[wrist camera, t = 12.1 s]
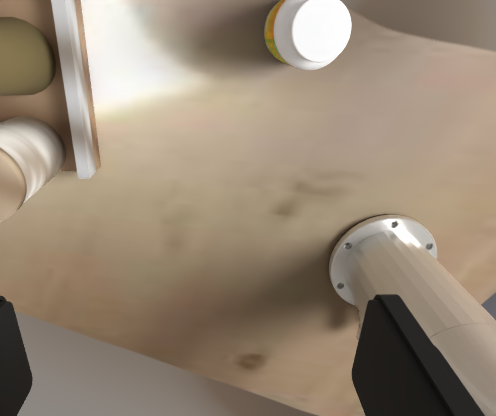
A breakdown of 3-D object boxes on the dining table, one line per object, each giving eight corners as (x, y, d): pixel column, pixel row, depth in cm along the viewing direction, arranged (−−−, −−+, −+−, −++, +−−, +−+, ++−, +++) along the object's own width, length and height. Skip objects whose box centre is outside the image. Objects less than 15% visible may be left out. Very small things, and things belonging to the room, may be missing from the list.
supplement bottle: (252, 43, 33) (264, 47, 24) (284, -18, 31) (310, -38, 22) (302, 75, 34) (331, 89, 25) (335, 18, 32) (379, 12, 24)
